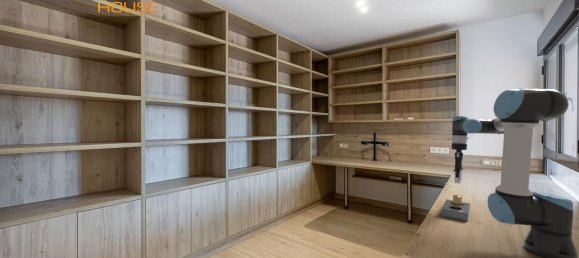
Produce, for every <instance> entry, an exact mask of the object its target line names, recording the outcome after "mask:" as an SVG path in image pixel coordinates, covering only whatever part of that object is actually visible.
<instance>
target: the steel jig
mask: <svg viewBox="0 0 579 258" xmlns="http://www.w3.org/2000/svg"><path fill="white" fill-rule="evenodd" d="M440 211H441V212H440V213H441V214H440V217H442V218H447V219H453V220H456V221H462V222H466V223H468V222H469V218H470V217H469V216H470V211H471V203H468V202H464V201H462V205H455V204H453V199H452V200H451V199H445V201H444V203H443V205H442V207H441V210H440Z"/></svg>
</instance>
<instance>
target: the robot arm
mask: <svg viewBox="0 0 579 258" xmlns="http://www.w3.org/2000/svg"><path fill="white" fill-rule="evenodd" d="M569 104H570V103H569V99H568V98H567V97H566V95H565V94H564V93H562V92H560V91H558V90H556V89H549V88H543V89H542V88H540V89H539V88H533V89H532V88H513V89H506V90H504V91H502V92H501V93H500V94H499V95H498V96H497V97H496V99H495V102H494V103H493V113H494V116H495V117H496V118H494V119H477V118H476V119H475V118H469V117H468V116H465V115H462V116H461V115H454V116H453V117H452V121H451V125H452V126H451V129H452V130H451V150H455V151H456V152H454V169H453V172H454V181H453V182H454V184H461V182H462V174H463V173H462V171H463V170H464V168H463V167H462V166H463V157H464V153H463V151H467V149H468V140H469V139H470V138H469V137H468V134H472V135H473V134H488V135H489V134H490V135H491V134H492V135H493V134H495V135H503V140H502V141H503V146H502V157H501V158H502V159H501V169H500V170H501V173H500V184H499V185H498V186H496V187H495V189H494V191H495V192H492V193H489V195H488V197H487V206H488V210H489V212H490V215H491V216H492V217H493V218H494V219H495V221H497V222H498V223H501V224H507V225H512V226H513V225H519V226H530V229H529V231H528V233H527V234H526V236H525V239H524V240H523V247H524V248H525V250H527V251H529V252H530V253H533V254H535V255H538V256H540V257H543V258H579V253H578V250H577V247H576V245H575V242H574V240H573V221H574V219H573V218H574V203H573V201H572V200H570V199H569V198H567V197H563V196H561V195H557V194H552V193H548V192H541V191H537V190H536V191H531V189H529V187H530V173H531V172H530V171H531V164H532V163H531V161H532V160H531V158H532V148H533V147H532V146H533V135H534V128H535V127H536V126H538V125H539V124H540V122H549V121H551V120H555V119H558V118H560V117H561V116H563V115H564V114H565V113H566V112H567V111H568V109H569Z"/></svg>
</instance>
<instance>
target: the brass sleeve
mask: <svg viewBox="0 0 579 258" xmlns="http://www.w3.org/2000/svg"><path fill="white" fill-rule="evenodd" d="M452 200H453V204H455V205H462V202H463V195H459V194H453V195H452Z"/></svg>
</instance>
